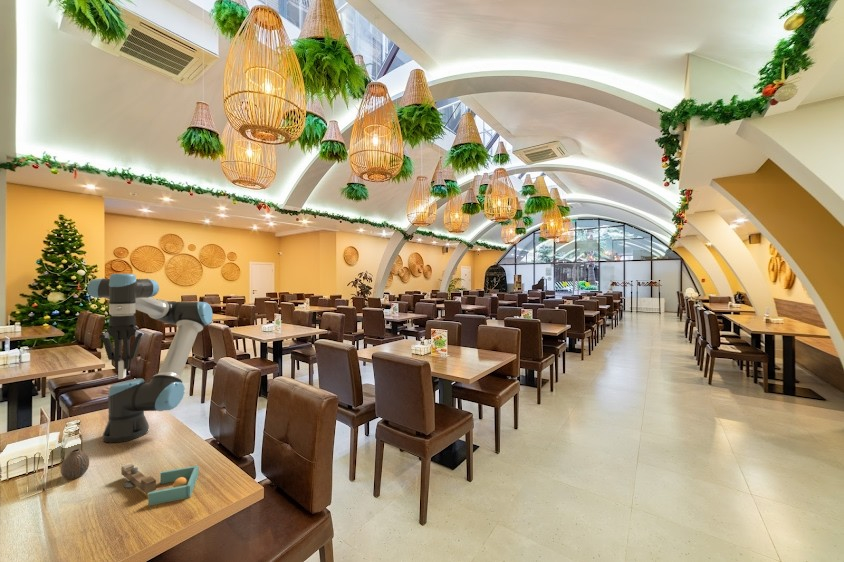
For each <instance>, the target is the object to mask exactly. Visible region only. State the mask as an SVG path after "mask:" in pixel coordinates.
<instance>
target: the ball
mask: <svg viewBox="0 0 844 562" xmlns="http://www.w3.org/2000/svg"><path fill="white" fill-rule="evenodd" d="M187 484H188V479H186V478H184V477H180V478H178V479H176V480H175V481H173V484H172V486H173V487H172V488H174V487H179V486H184V485H187Z"/></svg>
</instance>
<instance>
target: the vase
mask: <svg viewBox="0 0 844 562" xmlns="http://www.w3.org/2000/svg"><path fill="white" fill-rule="evenodd" d="M89 467H90V458H89V456H88V455H87V454H86V453H85V452H83V451H82V450H81V448H76V449H75V448H74V449H73V450H70V452H69V454H68V455H67V456H66V458H65V459H64V460H63V461H62V463H61V466H60V474H61V475H62V477H63V478H64V479H66V480H75V479H79V478H80V477H83V475H85V473H86V472H87V471H88V469H89Z"/></svg>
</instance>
